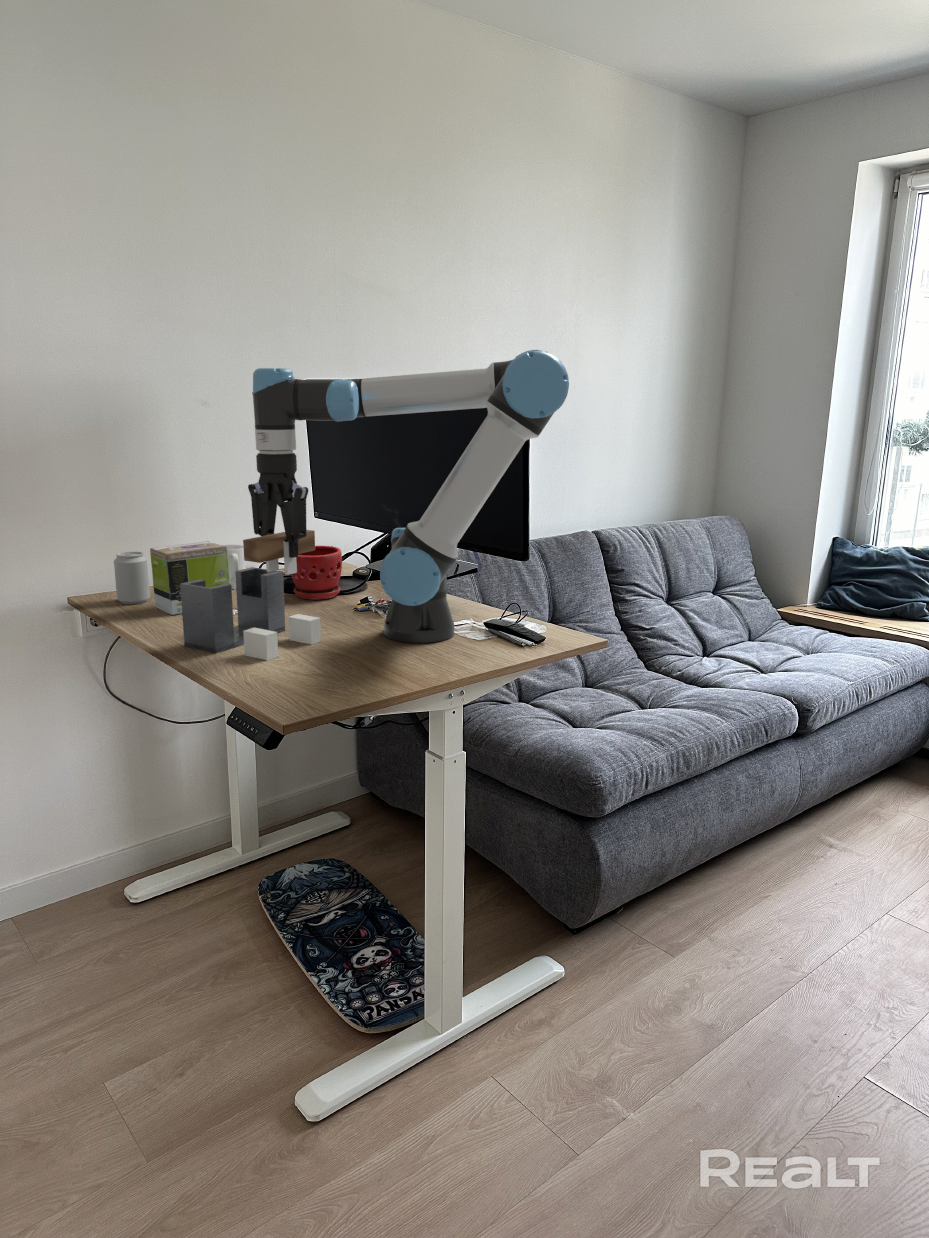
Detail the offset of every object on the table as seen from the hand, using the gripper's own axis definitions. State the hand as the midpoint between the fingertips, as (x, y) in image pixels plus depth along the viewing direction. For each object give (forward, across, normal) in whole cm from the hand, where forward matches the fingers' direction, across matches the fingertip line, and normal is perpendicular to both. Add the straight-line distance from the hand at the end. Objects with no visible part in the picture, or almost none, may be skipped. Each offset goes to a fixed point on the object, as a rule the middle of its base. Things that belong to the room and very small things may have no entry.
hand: (281, 571), depth 172 cm
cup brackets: (+16, -13, 0) cm, 21 cm away
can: (+16, -57, +10) cm, 60 cm away
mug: (+16, -48, +34) cm, 61 cm away
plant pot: (+16, -24, +39) cm, 49 cm away
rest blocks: (+16, 0, 0) cm, 16 cm away
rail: (-3, 0, 0) cm, 3 cm away
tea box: (+16, -41, +14) cm, 46 cm away
